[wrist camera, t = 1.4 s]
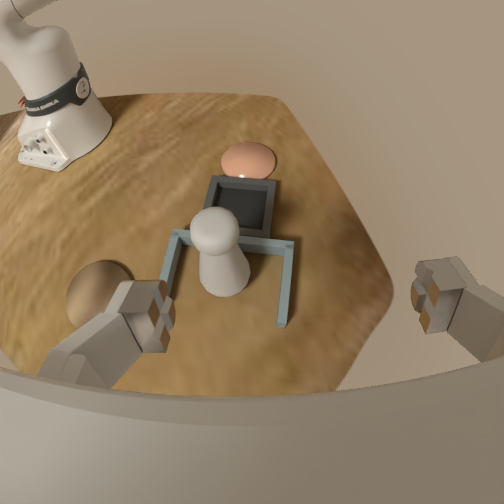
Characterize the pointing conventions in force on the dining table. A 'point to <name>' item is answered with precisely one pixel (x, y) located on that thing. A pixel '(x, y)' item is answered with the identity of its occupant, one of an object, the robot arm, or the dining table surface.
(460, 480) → the robot arm
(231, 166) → the coaster
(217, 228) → the salt shaker
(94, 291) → the cork trivet
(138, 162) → the dining table surface
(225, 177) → the hole frame
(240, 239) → the cubby bay
